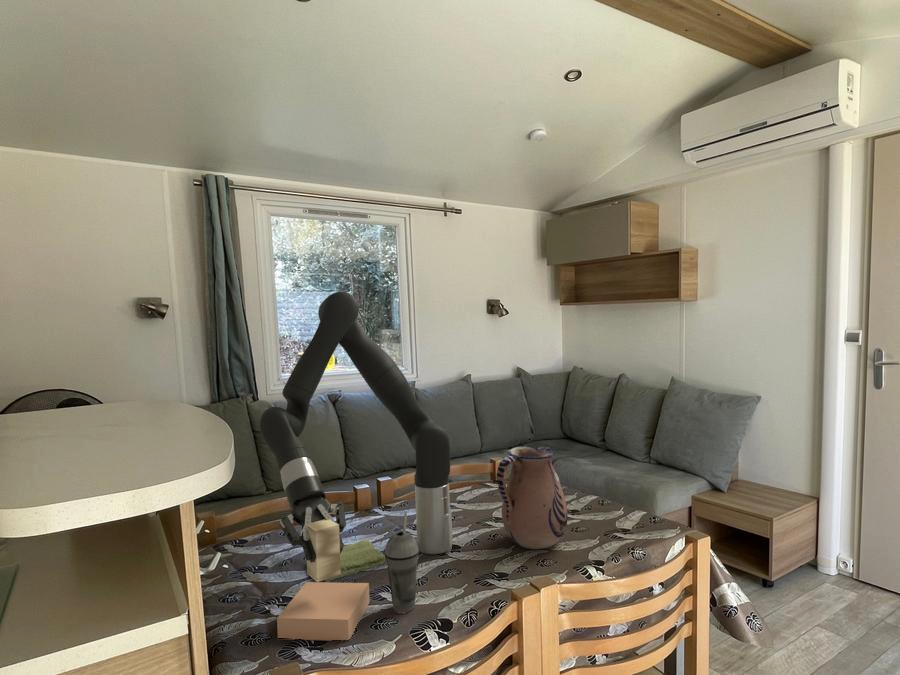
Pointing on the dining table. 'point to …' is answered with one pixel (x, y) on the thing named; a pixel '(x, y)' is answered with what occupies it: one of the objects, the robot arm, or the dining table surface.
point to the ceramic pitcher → (532, 498)
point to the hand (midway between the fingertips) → (327, 556)
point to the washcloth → (358, 558)
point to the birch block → (324, 550)
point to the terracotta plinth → (324, 611)
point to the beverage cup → (402, 569)
